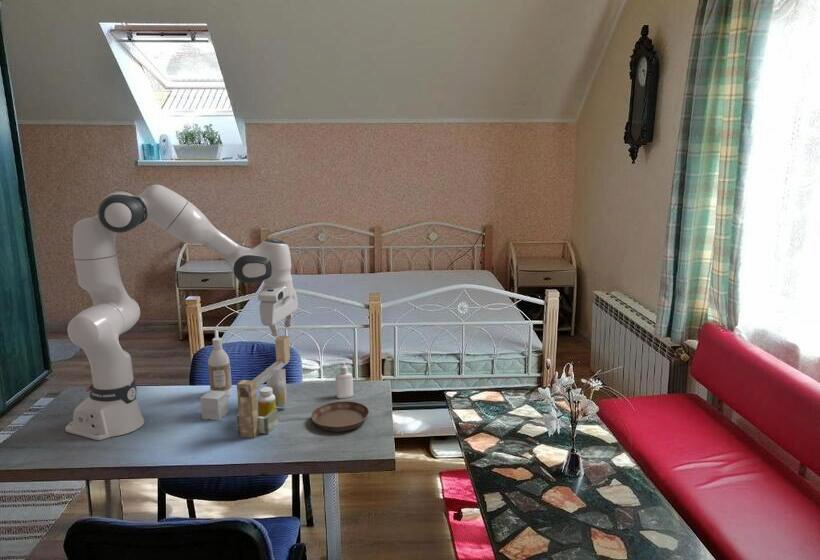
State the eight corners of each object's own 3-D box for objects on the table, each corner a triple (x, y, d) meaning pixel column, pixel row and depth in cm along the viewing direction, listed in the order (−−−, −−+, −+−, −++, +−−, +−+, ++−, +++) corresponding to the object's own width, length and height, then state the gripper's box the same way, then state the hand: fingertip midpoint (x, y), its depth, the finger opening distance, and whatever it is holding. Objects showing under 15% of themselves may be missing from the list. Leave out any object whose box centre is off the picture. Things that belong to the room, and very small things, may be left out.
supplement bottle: (272, 422, 194) (270, 393, 191) (255, 421, 195) (253, 392, 192) (279, 415, 199) (277, 386, 196) (263, 413, 200) (261, 385, 198)
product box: (219, 421, 195) (217, 399, 194) (201, 419, 196) (199, 397, 195) (229, 412, 201) (227, 391, 199) (211, 411, 202) (209, 389, 201)
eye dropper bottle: (351, 399, 210) (350, 365, 207) (335, 398, 211) (333, 364, 208) (354, 394, 214) (353, 360, 211) (338, 393, 215) (337, 360, 212)
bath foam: (210, 399, 211) (204, 342, 206) (212, 391, 217) (207, 336, 213) (231, 397, 212) (226, 341, 208) (232, 389, 219) (228, 334, 214)
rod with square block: (241, 430, 187) (236, 363, 182) (279, 394, 212) (276, 335, 207) (259, 432, 185) (255, 364, 180) (296, 396, 210) (293, 336, 205)
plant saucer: (307, 435, 186) (306, 426, 185) (316, 409, 203) (315, 401, 202) (367, 435, 185) (367, 425, 185) (371, 409, 203) (371, 400, 202)
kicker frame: (232, 435, 186) (227, 382, 182) (248, 420, 195) (244, 370, 191) (263, 439, 183) (259, 385, 179) (278, 423, 193) (275, 372, 189)
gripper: (283, 281, 211) (286, 321, 214) (254, 297, 192) (258, 340, 195) (301, 282, 210) (303, 322, 213) (274, 297, 190) (277, 341, 193)
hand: (281, 331), depth 204 cm, fingers open, 8 cm apart
